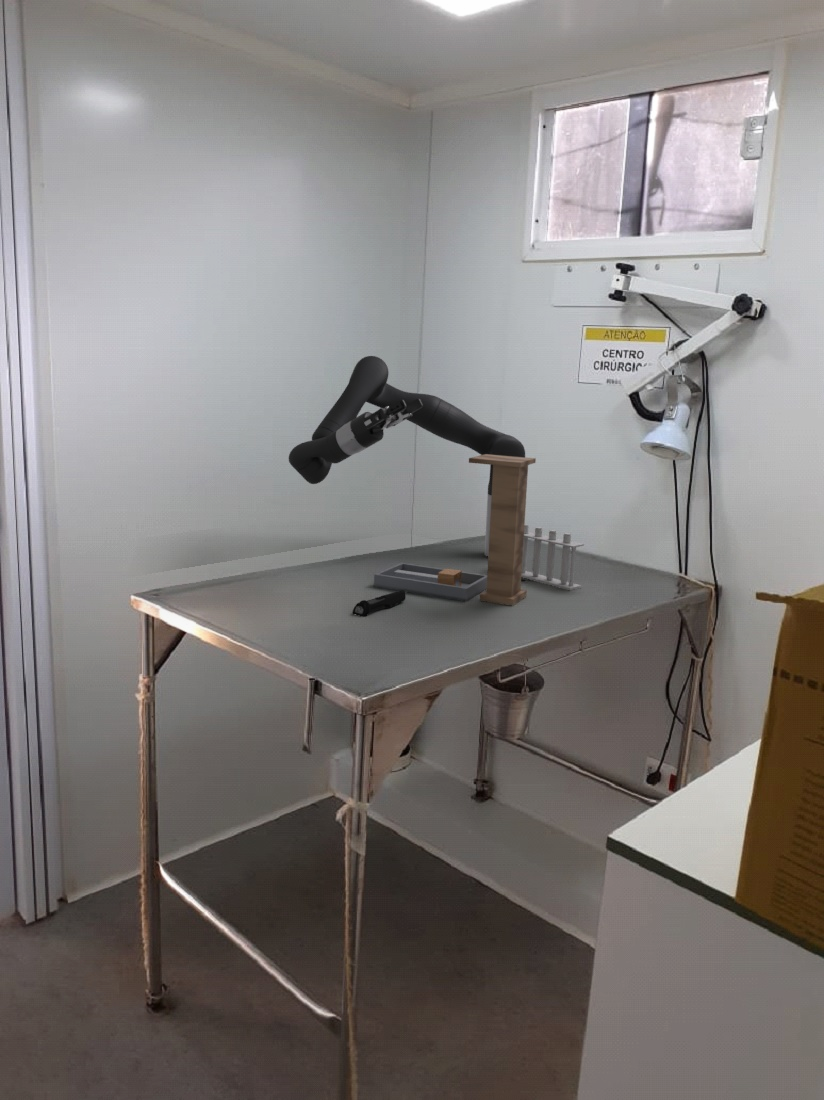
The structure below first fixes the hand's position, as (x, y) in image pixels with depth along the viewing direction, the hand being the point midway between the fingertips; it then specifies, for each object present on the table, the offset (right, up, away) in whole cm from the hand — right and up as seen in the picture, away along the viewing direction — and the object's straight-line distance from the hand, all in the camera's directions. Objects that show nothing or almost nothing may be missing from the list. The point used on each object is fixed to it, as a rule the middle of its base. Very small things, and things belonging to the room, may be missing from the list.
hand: (413, 402), depth 199 cm
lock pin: (+3, -42, +6) cm, 43 cm away
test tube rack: (+31, -41, +18) cm, 55 cm away
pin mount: (+19, -45, -1) cm, 49 cm away
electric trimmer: (-7, -47, -12) cm, 49 cm away
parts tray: (+4, -43, +6) cm, 43 cm away
